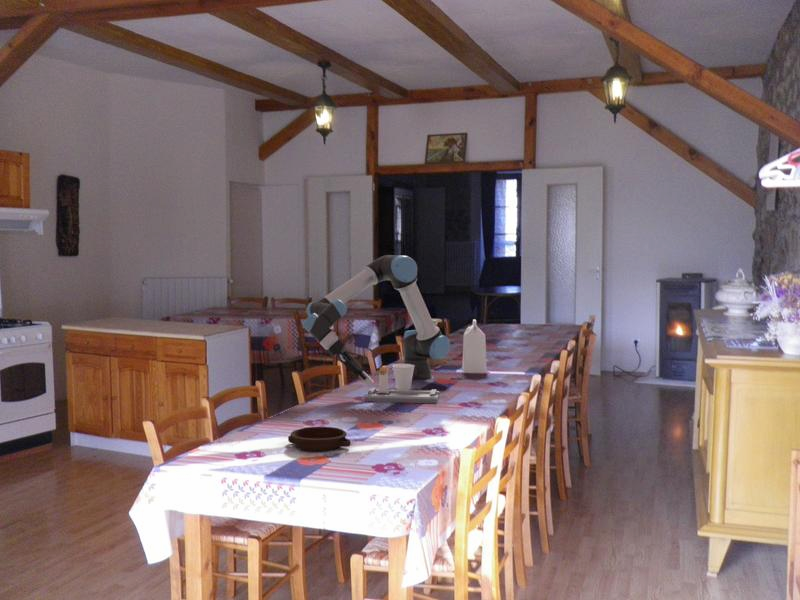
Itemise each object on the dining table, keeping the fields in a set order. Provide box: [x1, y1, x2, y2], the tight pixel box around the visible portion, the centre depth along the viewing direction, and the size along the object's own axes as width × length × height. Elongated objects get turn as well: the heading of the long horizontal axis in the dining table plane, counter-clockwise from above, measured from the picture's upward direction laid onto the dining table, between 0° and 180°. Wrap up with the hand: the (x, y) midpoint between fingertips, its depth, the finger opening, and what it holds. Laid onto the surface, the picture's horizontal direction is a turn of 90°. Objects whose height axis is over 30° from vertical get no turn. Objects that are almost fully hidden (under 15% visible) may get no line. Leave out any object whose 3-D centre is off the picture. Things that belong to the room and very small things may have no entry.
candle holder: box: [428, 318, 447, 367], centre depth 423 cm, size 11×11×24 cm
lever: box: [376, 365, 392, 395], centre depth 333 cm, size 5×8×12 cm, turn 172°
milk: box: [461, 319, 488, 374], centre depth 400 cm, size 12×12×26 cm
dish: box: [287, 426, 352, 453], centre depth 257 cm, size 18×22×5 cm
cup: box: [392, 363, 415, 390], centre depth 351 cm, size 10×10×11 cm
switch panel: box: [364, 387, 440, 404], centre depth 332 cm, size 30×14×4 cm, turn 82°
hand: (371, 384), depth 333 cm, fingers closed
